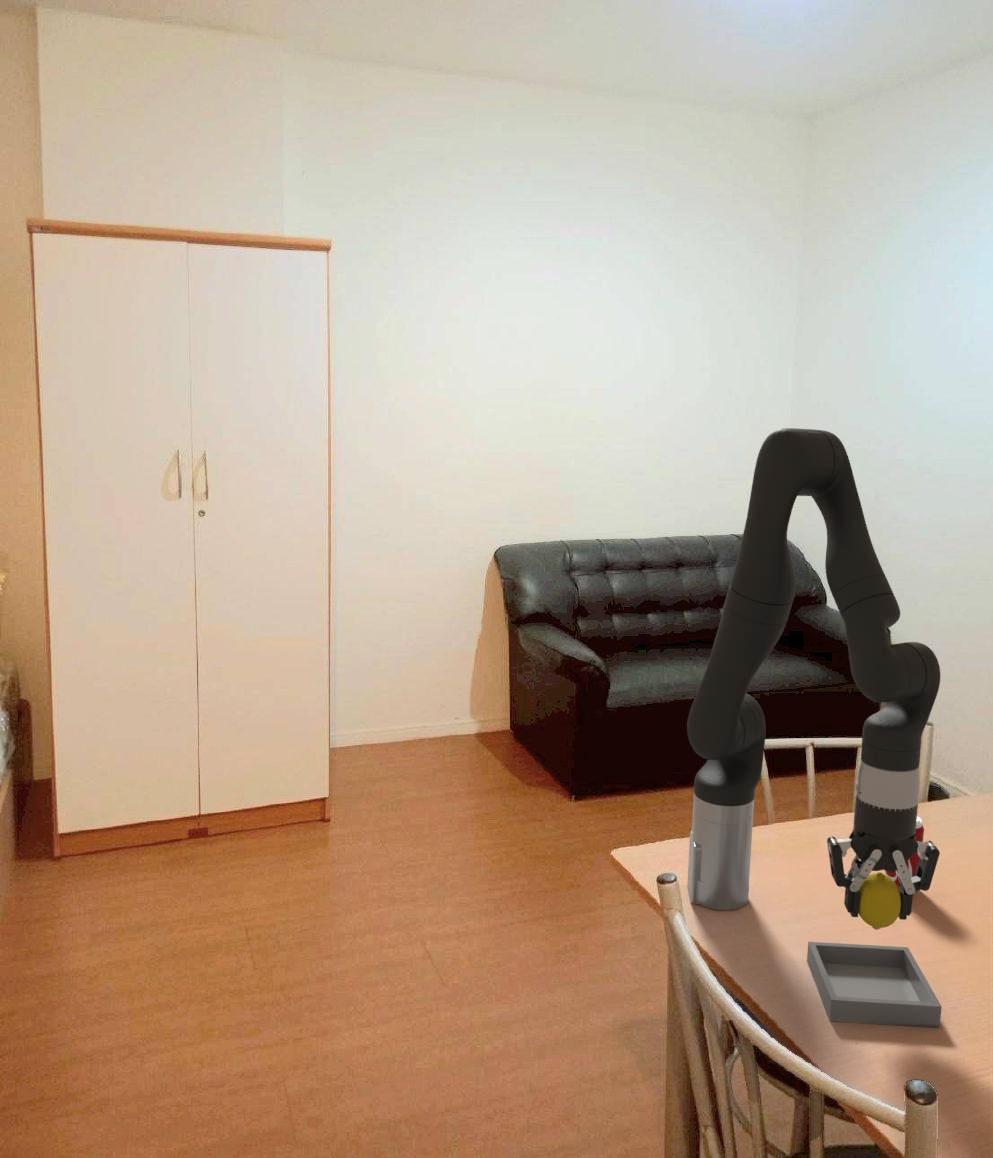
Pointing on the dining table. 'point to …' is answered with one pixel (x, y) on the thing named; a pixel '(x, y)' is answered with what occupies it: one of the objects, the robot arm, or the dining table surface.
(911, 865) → the soda can
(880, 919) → the lemon
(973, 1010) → the dining table surface
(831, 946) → the box
